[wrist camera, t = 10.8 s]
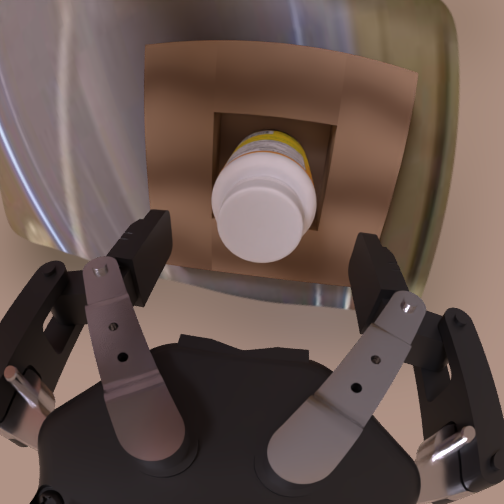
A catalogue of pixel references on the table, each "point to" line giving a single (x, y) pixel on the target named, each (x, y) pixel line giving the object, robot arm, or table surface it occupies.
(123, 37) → the table surface
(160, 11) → the table surface
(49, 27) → the table surface
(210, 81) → the walnut socket block
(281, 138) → the supplement bottle
